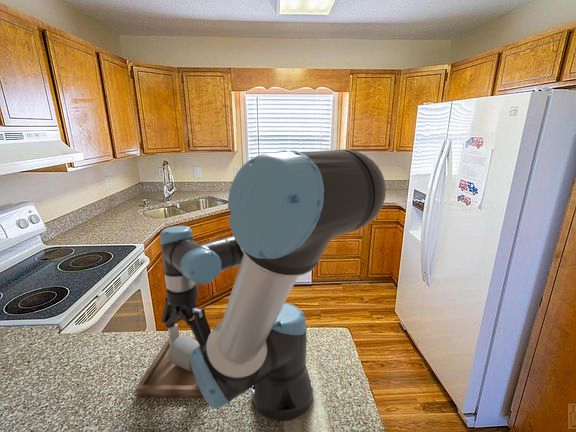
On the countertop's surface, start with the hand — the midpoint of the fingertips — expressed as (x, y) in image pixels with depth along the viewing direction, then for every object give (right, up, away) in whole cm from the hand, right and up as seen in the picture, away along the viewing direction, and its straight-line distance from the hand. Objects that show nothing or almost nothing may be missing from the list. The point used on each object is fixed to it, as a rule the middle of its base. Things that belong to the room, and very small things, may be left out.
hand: (189, 356), depth 81 cm
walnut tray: (0, -4, +1) cm, 4 cm away
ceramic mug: (0, -3, +2) cm, 3 cm away
